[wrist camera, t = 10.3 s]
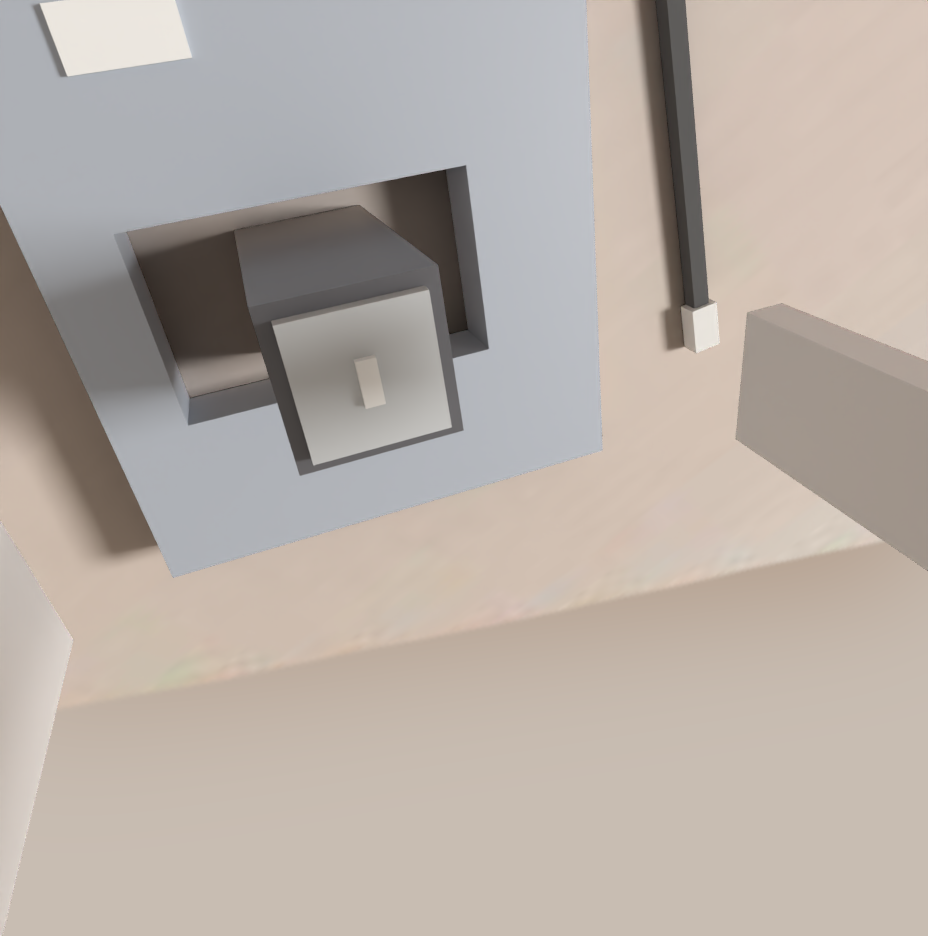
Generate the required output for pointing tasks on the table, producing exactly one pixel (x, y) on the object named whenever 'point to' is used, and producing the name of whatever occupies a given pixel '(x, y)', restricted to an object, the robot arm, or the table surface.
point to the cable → (686, 176)
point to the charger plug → (349, 335)
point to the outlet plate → (294, 176)
